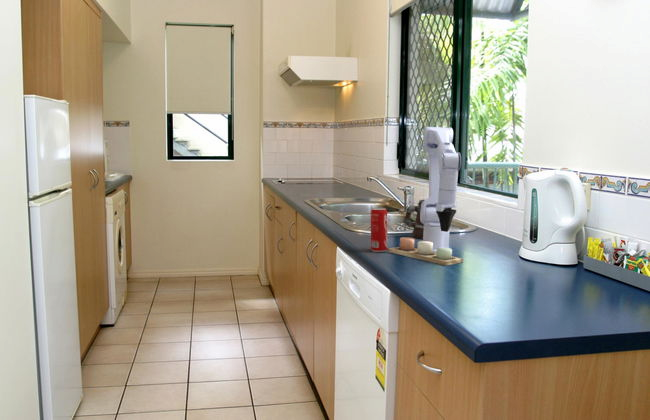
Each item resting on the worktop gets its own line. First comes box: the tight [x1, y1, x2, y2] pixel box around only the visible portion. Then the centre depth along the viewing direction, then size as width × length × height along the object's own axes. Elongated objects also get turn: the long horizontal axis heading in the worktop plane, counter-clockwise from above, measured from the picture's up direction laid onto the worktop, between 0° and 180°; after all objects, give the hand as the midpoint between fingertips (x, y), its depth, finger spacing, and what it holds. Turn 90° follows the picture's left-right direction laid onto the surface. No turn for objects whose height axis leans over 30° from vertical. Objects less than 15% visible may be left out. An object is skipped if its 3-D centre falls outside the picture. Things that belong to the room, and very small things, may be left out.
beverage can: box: [370, 207, 388, 253], centre depth 214 cm, size 6×6×15 cm
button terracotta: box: [399, 236, 416, 250], centre depth 213 cm, size 5×5×4 cm
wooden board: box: [387, 246, 464, 266], centre depth 207 cm, size 9×25×1 cm, turn 41°
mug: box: [403, 199, 431, 240], centre depth 246 cm, size 16×12×15 cm
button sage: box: [435, 247, 453, 260], centre depth 201 cm, size 5×5×4 cm
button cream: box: [417, 240, 433, 254], centre depth 207 cm, size 5×5×4 cm
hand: (444, 231), depth 201 cm, fingers closed
